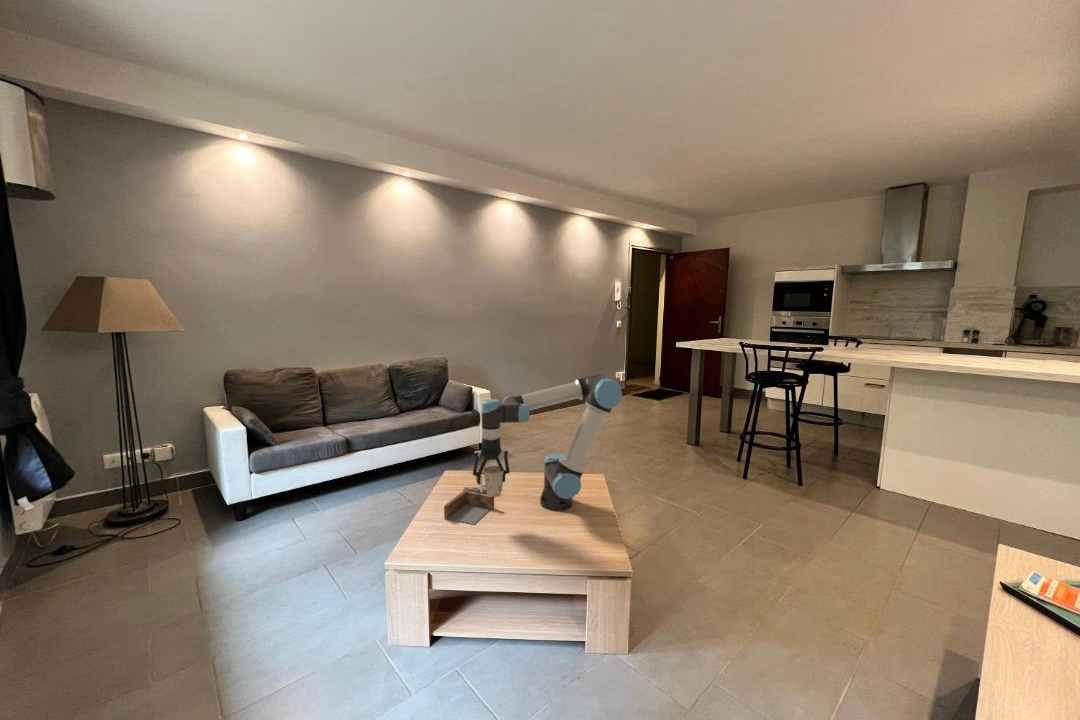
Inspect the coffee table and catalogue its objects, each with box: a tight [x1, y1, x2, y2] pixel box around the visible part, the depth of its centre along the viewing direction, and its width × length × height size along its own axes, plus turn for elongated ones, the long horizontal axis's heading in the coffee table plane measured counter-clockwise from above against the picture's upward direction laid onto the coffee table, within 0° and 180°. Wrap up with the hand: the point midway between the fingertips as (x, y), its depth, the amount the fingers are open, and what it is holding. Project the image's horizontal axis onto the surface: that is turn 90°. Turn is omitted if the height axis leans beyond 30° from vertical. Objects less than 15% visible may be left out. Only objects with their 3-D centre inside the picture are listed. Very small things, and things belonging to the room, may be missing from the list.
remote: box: [462, 486, 488, 495], centre depth 207 cm, size 16×4×2 cm, turn 89°
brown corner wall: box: [443, 490, 495, 521], centre depth 187 cm, size 16×16×6 cm
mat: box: [448, 504, 491, 526], centre depth 186 cm, size 13×14×1 cm
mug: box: [475, 465, 505, 497], centre depth 177 cm, size 8×13×10 cm, turn 73°
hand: (491, 490), depth 177 cm, fingers closed on mug, 8 cm apart
